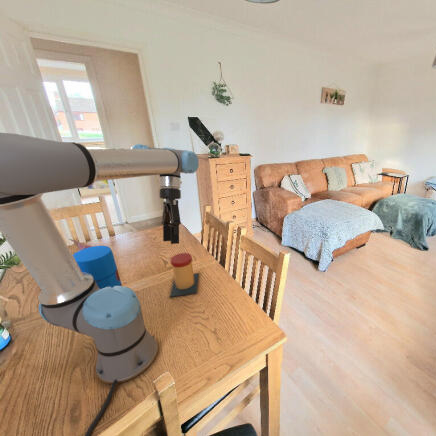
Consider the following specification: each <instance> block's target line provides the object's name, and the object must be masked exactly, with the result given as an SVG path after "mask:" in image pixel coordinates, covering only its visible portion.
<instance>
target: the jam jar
mask: <svg viewBox="0 0 436 436" xmlns="http://www.w3.org/2000/svg"><path fill="white" fill-rule="evenodd" d="M171 267H172V273H173V279H175V285H176V287H177V288H178V289H187V288H189V287H191V286H193V284H194V282H195V281H194V274H195V273H194V268H193V261H192V262H191V263H190V264H189V265H187V266H184V267H174V266H172V265H171Z"/></svg>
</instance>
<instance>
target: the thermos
mask: <svg viewBox="0 0 436 436" xmlns="http://www.w3.org/2000/svg"><path fill="white" fill-rule="evenodd" d="M72 255H73V256H74V258H75V260H76V262H77V264H78V265H79V267H80V269H81V271H82V273H89V274H91V275H92V276H93V278H94V280H95V282H96V284H97V286H98V287H99V288H100V289H103V288H106V287H111V288H113V287H114V286H123V284H122V281H121V276H120V273H119V270H118V267H117V263H116V259H115V256H114V253H113V251H112V248H111V247H110V246H107V245H94V246H93V247H89V248H85V249H82V250H80V251H79V250H78V251H76V252H74V253H72Z"/></svg>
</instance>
